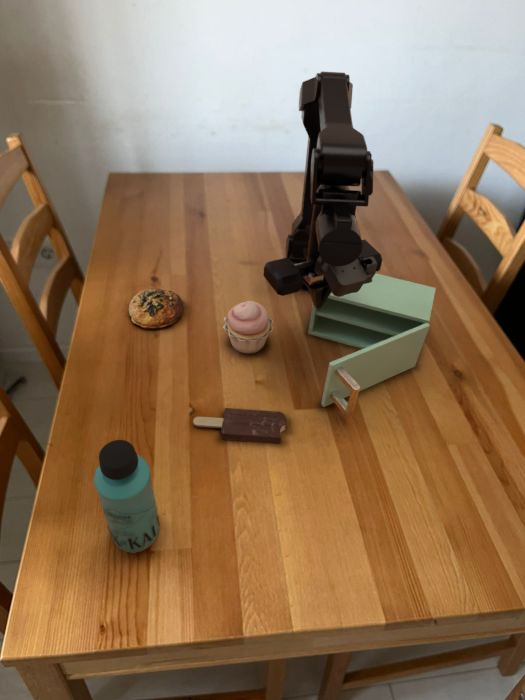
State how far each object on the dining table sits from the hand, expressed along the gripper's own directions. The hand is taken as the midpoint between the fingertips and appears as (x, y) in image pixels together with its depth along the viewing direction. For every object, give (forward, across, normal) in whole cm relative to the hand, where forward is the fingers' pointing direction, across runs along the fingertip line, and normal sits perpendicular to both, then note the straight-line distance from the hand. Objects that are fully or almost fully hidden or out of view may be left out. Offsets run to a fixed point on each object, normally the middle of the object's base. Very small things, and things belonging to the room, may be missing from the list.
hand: (317, 307), depth 87 cm
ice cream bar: (+12, -18, -10) cm, 24 cm away
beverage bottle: (+12, -38, -21) cm, 45 cm away
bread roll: (+12, -23, +23) cm, 34 cm away
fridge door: (+12, +7, -13) cm, 19 cm away
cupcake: (+12, -9, +8) cm, 17 cm away
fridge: (+12, +14, +2) cm, 18 cm away
